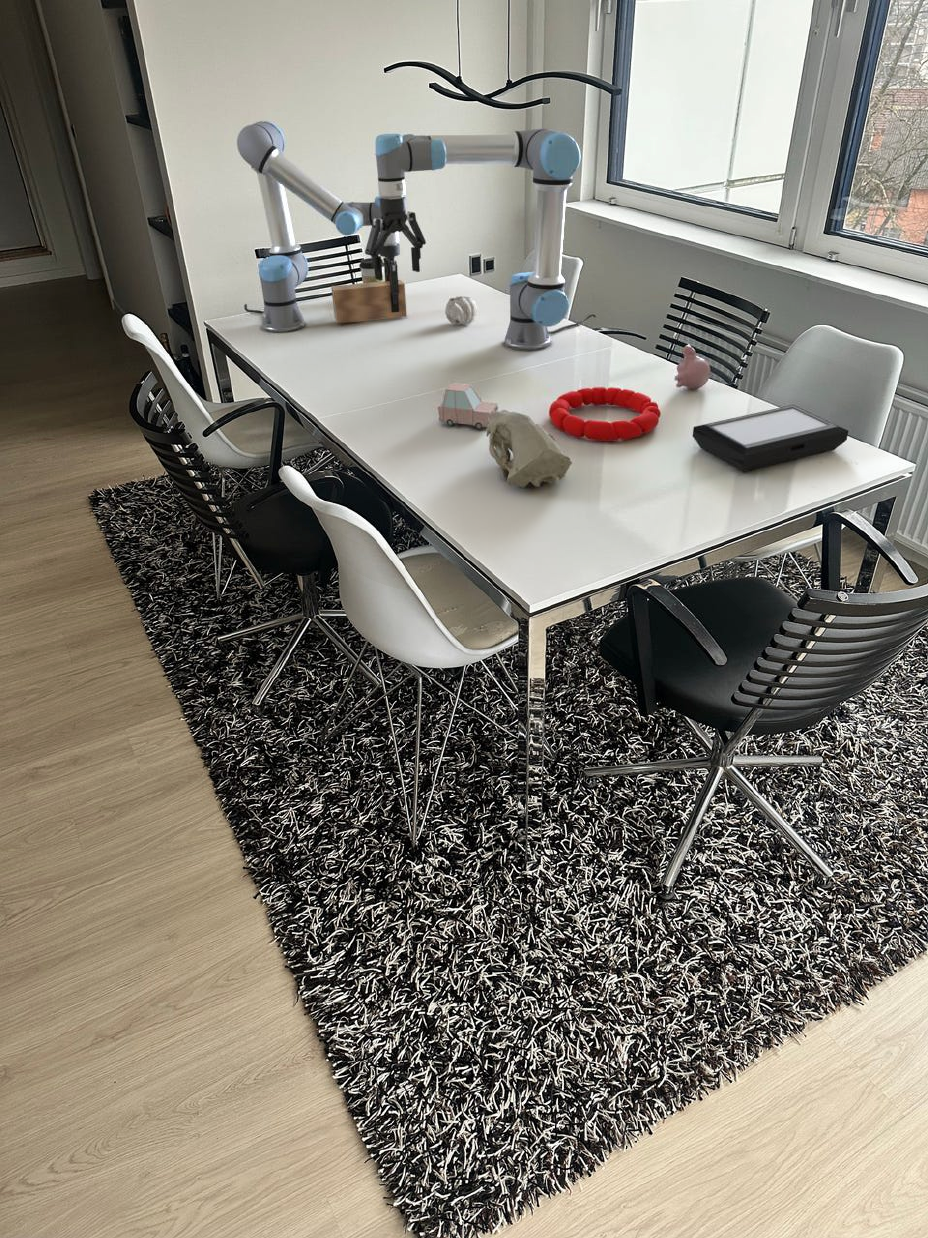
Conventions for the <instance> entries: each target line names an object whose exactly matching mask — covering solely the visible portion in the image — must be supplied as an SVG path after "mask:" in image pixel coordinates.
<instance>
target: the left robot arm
mask: <svg viewBox="0 0 928 1238" xmlns="http://www.w3.org/2000/svg"><path fill="white" fill-rule="evenodd" d="M285 139H286V138H285V135H284V133H283V132H282V130H281V128H280V127H278V125H276V124H275V123H273V122H271V121H267V120H266V121H265V120H264V121H262V120H260V121H257V122H255V123H252V124H248V125H246V126H244V127H242V128H241V130H239V132H238V134H237V138H236V147H237V150H238V153H239V155H240V156H241V158H242V159H243V160H244V161H245V162H246V163H247V164H248V165H250V167H251V170H252V171H254V172H256V174H257V179H258V184H259V188H260V194H261V199H262V203H263V208H264V212H265V218H266V223H267V228H268V232H269V237H270V241H271V247H270V248H269V250H268V254H269V256H268V257H265V258H263V259H261V260H260V261H259V262H258V275H259V281H260V287H261V292H262V293H261V294H262V299H263V310H257V309H248V304H247V303H245V304H244V305H243V307H244V308H243V309H244V310H245V312H246V313H252V314H261V315H262V319H261V326H262V330H264V331H265V332H271V333H286V332H293V331H296V330H297V331H298V330H300V329H302V328H304V326H305V319H304V317H303V314H302V312H301V310H300V307H299V306H298V305H299V304H298V303H297V295H296V294H297V293H296V288H297V287H298V286H300V285H301V284H302V283H304V281H305V280H306V278H307V276H308V274H309V261H308V259H307V258H306V256H305V255H304V254H303V250H302V247H301V245H300V244H298V243H297V241H296V237H295V232H294V227H293V222H292V217H291V212H290V211H291V210H290V206H289V201H288V196H287V190H288V191H289V192H291V193H292V194H294V196H296V197H298V198H299V199H300V200H301V201H303V202H305V203H306V205H308V206H309V207H311V208H312V209H313V210H315V211H316V212H318V213H319V214H320V215H322V216H323V217H324V218H326V219H327V220H328V221H329V222H331V223H332V224H333V225H334V226H335V228H336V230H337V231H338V233H339V234H341V235H343V236H352V235H355V234H356V233H357V232H358V231H359V230H360V229H361V228H363V227H372V219H373V218H377V219H381V216H382V214H381V211H380V202H379V199H380V198H381V196H379V195H377V196H375V198H374V201H372V202H357V201H356V202H355V201H350V202H344V201H343V200H342V199H340V198H339V197H338V196H336V195H335V194H334V193H332V192H331V191H329V189H327V188H326V187H324V186H323V185H322V184H320V183H319V182H318V181H316V180H315V179H314V178H313V177H311V176H310V175H308V173H306V172H305V171H303V170H302V169H301V168H299V167H298V166H296V165H295V164H294V163H292V162H291V161H290V160H289V159H287V158H286V157H285V156H284V151H285V147H286V140H285ZM286 189H287V190H286ZM382 226H383V225H382ZM382 226H380V230H381V228H382ZM379 234H380V231H379ZM378 236H379V235H378ZM399 243H400V232H395V233H391V234H390V235H389V236H388V238H387V240H386V242H385V244H384V245H383V247H382V249H381V251H380V253H379V255H378V256H381V258H382V257H383V258H382V260H383V263H384V268H383V273H384V281H390V288H391V293H389V295H391V308H392V313H393V312H399V299H398V293H399V284H398V280H399V274H398V273H399V272H398V263H397V260H396V259H395V258H396V257H398V256H399V255H400V254H401V248H400V247H401V246H400V244H399Z"/></svg>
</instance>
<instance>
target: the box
mask: <svg viewBox="0 0 928 1238" xmlns="http://www.w3.org/2000/svg"><path fill="white" fill-rule="evenodd" d="M398 284H399V293H398V299H399V312H393V313H392V308H391V295H389V293H391V288H390V281H385V280H384V281H383V282H372V283H363V282H362V283H351V284H341V285H331V286H330V289H331V297H332V298H331V299H332V307H333V315H334V317H333V318H334V320H335V322H336V324H345V323H353V322H354V323H356V322H365V321H374V320H375V321H376V320H385V319H394V318H404V317H407V301H406V299H407V298H406V288H405V287H406V284H405V282H404V281H403V280H402V279H398Z"/></svg>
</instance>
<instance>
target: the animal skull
mask: <svg viewBox="0 0 928 1238" xmlns="http://www.w3.org/2000/svg"><path fill="white" fill-rule="evenodd" d="M485 436H486V438H487V437H489V438H488V440H489V444H488V445H489V446H488V450H489V454H490V456H491V457H492V458H493V459H494V460H495V462H496V464H497V466H499V468H500V470H501V471H502V472H501V478H502V479H507V480H506V484H507V486H517V487H518V486H519V488H523V489H524V488H526V486H527V485H529V483H531V485H533V486H534V487H536V488H540V485H541V484H542V482H544V483H549V484H550V485H553V484H555V483H556V482H557V480H561V479H563V478H565V476H566V474H567V472H568V471H569V469H570V467H571V466H572V464H573V462H572V461H571V458H570V457H568V456H567V455H565V453H564V451H562V449H561V448H560V446H559V444H557V443H556V439H555V438H554V436H553V435H551V434H550V433H548V432H547V431H546V430H545V429H544V428H542V427H541V426H539V425H538V424H537V423H536V424H535V422H534V421H533V419H532V418H531V417H530V416H529V415H527V414H524V413H519V412H515V411H509V410H507V409H502V410H500V411H499V410H497V411H496V412H492V413H491V414H490V422H488V423H487V427H486V435H485ZM511 453H512V454H511ZM511 455H512V457H513V458H512V460H511ZM507 474H508V475H507Z"/></svg>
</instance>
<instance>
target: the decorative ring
mask: <svg viewBox="0 0 928 1238" xmlns="http://www.w3.org/2000/svg"><path fill="white" fill-rule="evenodd" d="M583 405H584V406H586V407H587V406H591V405H593V406H604V405H608V406H614V407H619V408H624V409H628V410H632V411H635V412H636V413H638V414H639V415H637V416H635V417H632V418H631V419H630V420H625V419H624V420H623V419H622V420H614V421H611V422H609V421H607V420H606V421H605V420H593V419H587V420H586V421H585V419H584V418H582V417H579V416H577V415H573V414H571V413H570V410H571V409H579V408H581V407H582V406H583ZM548 416H549V419H550V422H551V423H552V425H553V426H554V427H555V428H556V429H558V430H559V431H561V432H563V433H567V434H568V435H569V436H573V437H576V438H580V439H582V438H583V437H585V438H586V439H587V440H591V441H601V442H602V441H603V442H608V441H609V442H610V441H611V442H612V441H615V442H616V441H618V440H630V439H634V438H638V437H641V436H642V434H647V433H650V432H651V431H653V430H654V429H655V428H656V427H657V426H658V424H659V422H660V421H659V420H660V417H661V410H660V408H659V405H658V403H657V402H656V401H652V399H651V397H649V396H648V395H646V394H644V393H642V392H635V391H634V390H632V389H628V388H624V389H622V388H620V387H613V386H612V387H611V386H610V387H608V388H606V387H604V386H594V387H585V388H584V387H583V388H580V389H578V390H571V391H568V392H565V393H563V394H561V395H560V396H558V397H557V398H556V400H554V401H552V403H551V404H550V407H549V409H548Z"/></svg>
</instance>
